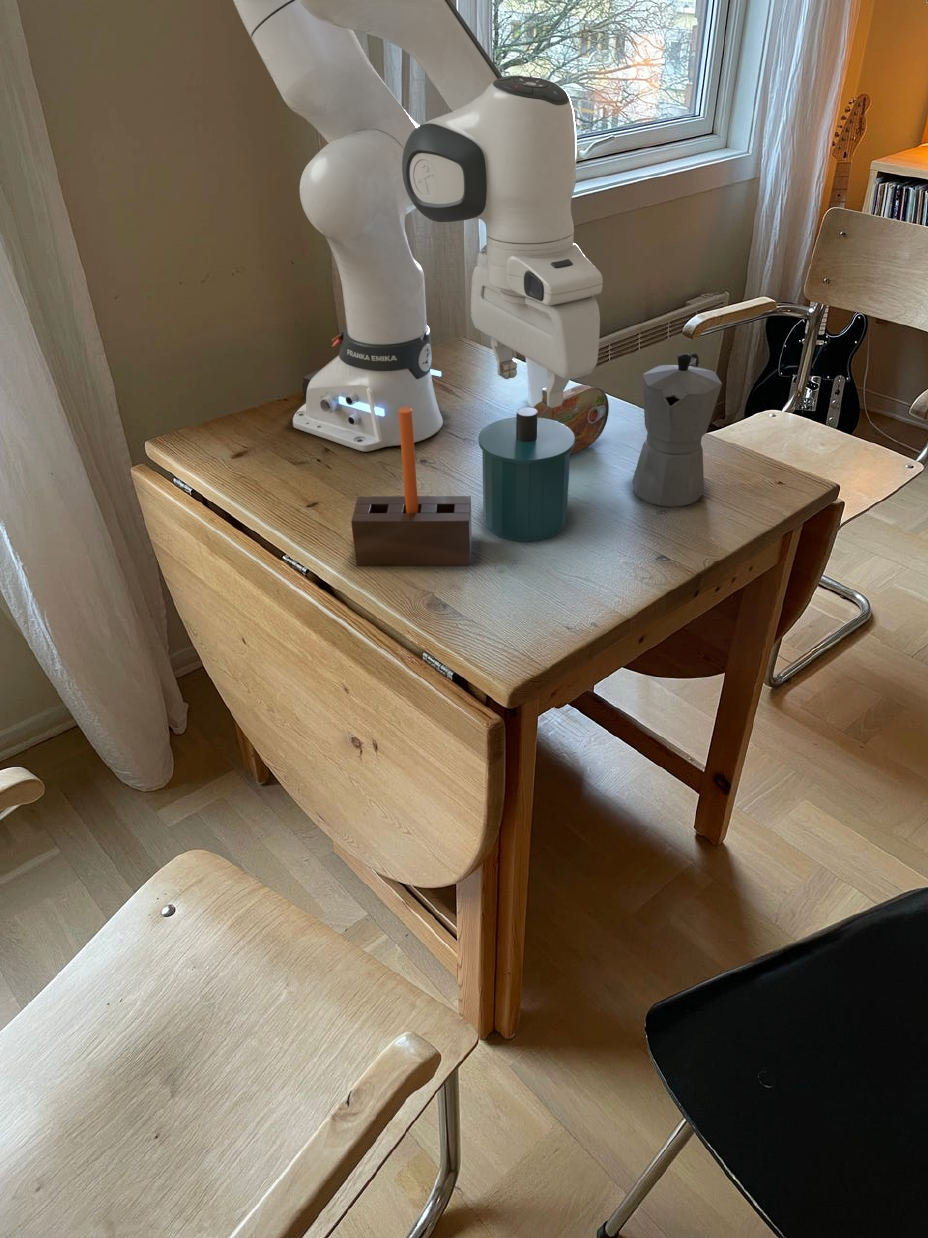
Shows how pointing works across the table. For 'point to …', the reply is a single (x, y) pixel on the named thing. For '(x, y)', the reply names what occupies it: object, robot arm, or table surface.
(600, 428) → the tin
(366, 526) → the straw rack
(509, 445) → the can lid
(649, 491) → the coffeepot
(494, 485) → the can
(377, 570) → the table surface
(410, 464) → the straw
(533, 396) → the drinking glass
